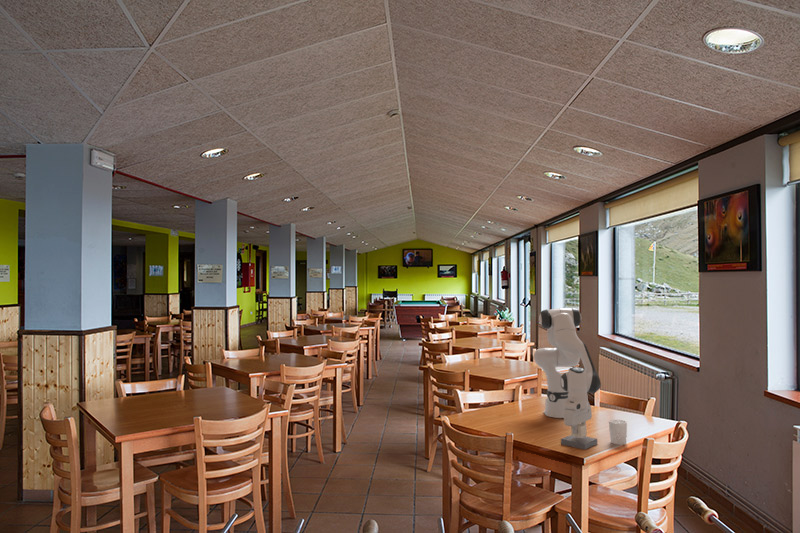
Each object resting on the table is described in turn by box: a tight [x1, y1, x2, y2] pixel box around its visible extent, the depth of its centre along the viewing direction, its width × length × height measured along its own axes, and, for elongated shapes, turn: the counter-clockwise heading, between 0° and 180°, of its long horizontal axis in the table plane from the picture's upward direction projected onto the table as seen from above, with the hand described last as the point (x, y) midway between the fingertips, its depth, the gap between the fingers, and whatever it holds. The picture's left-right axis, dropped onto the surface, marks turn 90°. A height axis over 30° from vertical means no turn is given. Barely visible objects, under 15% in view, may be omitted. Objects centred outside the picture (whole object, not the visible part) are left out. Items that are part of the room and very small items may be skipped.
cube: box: [570, 423, 588, 438], centre depth 243 cm, size 5×5×5 cm
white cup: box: [608, 419, 628, 446], centre depth 244 cm, size 8×8×10 cm
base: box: [560, 434, 598, 450], centre depth 242 cm, size 12×12×2 cm
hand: (578, 432), depth 243 cm, fingers closed on cube, 5 cm apart
